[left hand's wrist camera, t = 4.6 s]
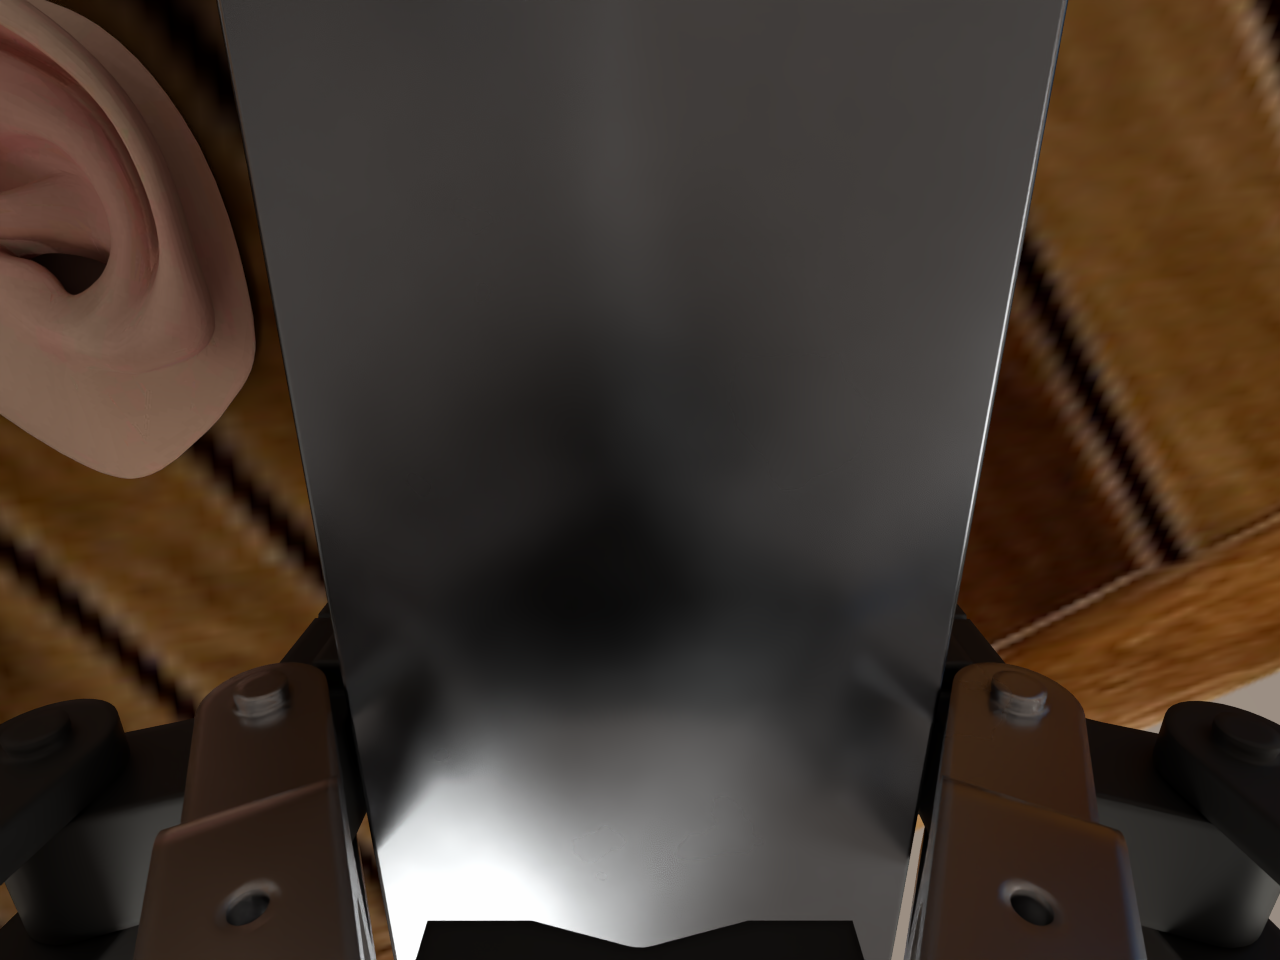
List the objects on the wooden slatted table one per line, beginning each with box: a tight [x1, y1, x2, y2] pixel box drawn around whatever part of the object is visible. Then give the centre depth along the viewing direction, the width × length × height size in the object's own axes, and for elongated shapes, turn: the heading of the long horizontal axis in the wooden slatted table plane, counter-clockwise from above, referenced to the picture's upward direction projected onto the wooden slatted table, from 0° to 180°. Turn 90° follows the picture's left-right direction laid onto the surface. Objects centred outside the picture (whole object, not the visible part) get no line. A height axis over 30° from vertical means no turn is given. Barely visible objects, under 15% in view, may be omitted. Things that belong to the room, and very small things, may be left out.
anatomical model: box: [0, 0, 256, 478], centre depth 19 cm, size 13×4×12 cm
